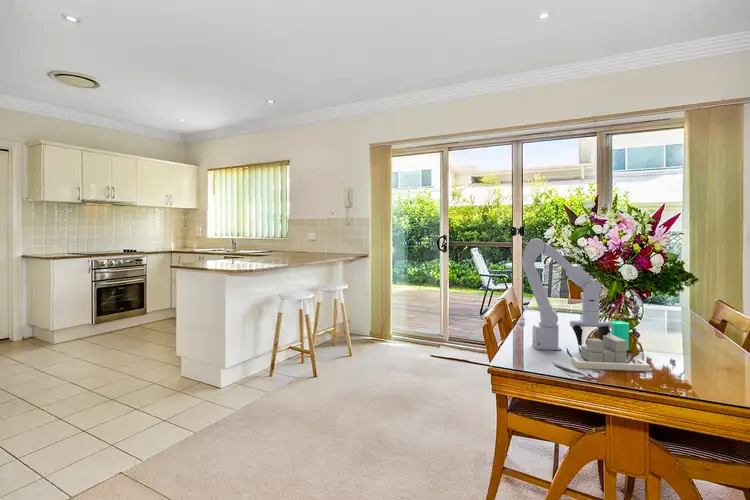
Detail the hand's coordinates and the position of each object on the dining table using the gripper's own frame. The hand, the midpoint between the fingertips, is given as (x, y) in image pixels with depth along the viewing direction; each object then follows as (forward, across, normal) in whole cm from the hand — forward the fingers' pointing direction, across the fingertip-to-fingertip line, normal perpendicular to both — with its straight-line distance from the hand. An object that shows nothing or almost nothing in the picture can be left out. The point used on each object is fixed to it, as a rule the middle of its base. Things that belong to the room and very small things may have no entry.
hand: (590, 345), depth 154 cm
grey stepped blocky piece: (+3, 0, +8) cm, 9 cm away
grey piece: (+2, 0, +18) cm, 18 cm away
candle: (+2, -12, -5) cm, 14 cm away
